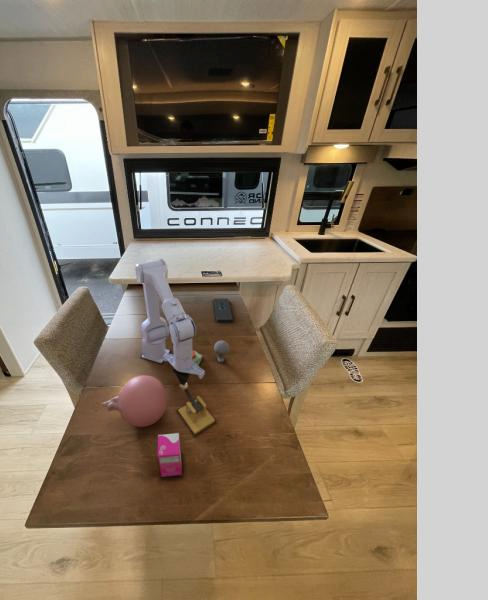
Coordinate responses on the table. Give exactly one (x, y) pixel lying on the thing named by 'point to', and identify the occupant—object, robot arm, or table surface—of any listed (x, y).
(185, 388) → the lever
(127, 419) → the balloon
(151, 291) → the robot arm
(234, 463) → the table surface
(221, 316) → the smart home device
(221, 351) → the light bulb
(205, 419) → the switch bracket
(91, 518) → the table surface
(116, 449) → the table surface
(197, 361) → the button block
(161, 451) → the supplement box
